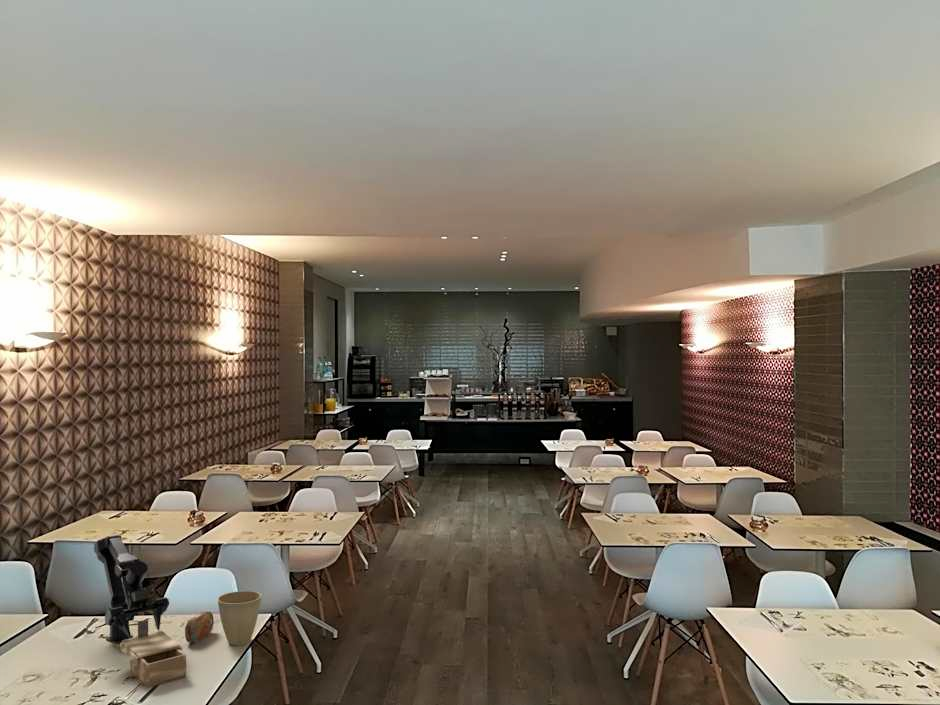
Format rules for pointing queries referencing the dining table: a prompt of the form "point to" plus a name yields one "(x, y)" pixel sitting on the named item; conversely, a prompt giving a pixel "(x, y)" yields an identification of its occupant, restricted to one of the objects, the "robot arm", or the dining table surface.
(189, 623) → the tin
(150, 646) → the carton lid
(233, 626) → the plant pot
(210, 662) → the dining table surface
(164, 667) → the carton
